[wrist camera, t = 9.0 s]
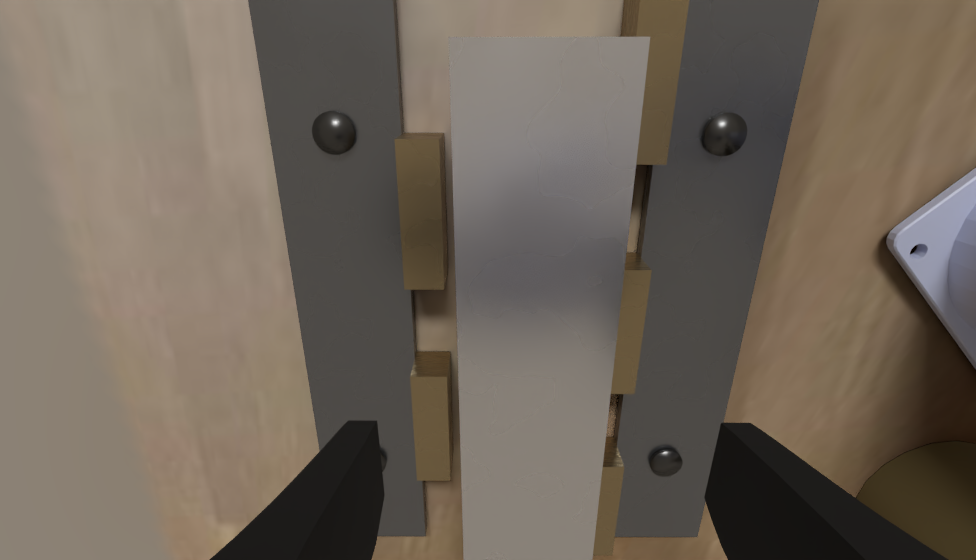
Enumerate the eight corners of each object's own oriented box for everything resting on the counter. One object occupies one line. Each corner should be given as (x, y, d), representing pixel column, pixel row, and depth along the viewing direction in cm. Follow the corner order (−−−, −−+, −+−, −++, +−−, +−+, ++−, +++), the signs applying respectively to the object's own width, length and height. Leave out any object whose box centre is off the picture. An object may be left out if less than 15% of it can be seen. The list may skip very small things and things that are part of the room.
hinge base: (813, -23, 13) (854, -36, 12) (692, 526, 21) (708, 561, 19) (252, -25, 13) (222, -38, 12) (336, 525, 21) (325, 560, 19)
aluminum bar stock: (586, 52, 14) (650, 36, 9) (557, 482, 20) (583, 636, 15) (464, 52, 14) (448, 37, 9) (472, 482, 20) (466, 636, 15)
